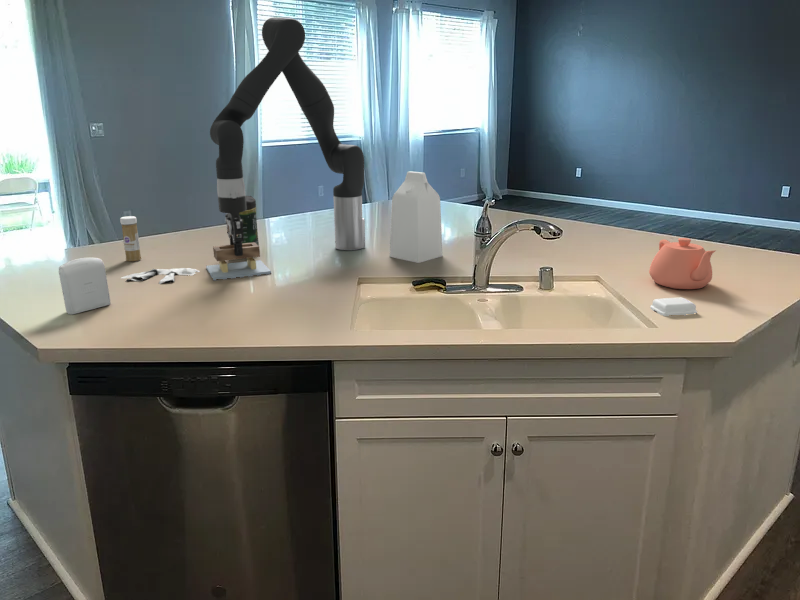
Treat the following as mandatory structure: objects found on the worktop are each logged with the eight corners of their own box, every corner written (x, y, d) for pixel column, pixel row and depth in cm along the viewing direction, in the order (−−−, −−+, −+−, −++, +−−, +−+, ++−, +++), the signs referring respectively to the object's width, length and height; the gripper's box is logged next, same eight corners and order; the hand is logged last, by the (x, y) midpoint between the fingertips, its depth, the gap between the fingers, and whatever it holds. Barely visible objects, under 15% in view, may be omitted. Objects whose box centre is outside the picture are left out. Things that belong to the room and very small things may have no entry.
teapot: (734, 295, 161) (741, 247, 157) (680, 299, 158) (686, 250, 154) (680, 272, 181) (686, 229, 177) (632, 275, 178) (636, 232, 175)
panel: (260, 262, 195) (259, 252, 194) (271, 273, 182) (270, 262, 181) (206, 268, 188) (205, 257, 187) (213, 280, 176) (212, 269, 175)
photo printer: (71, 316, 149) (62, 264, 145) (62, 312, 151) (53, 261, 148) (113, 305, 156) (106, 255, 152) (105, 301, 159) (97, 253, 155)
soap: (663, 318, 146) (664, 306, 145) (647, 308, 152) (648, 297, 151) (699, 315, 147) (701, 303, 146) (682, 306, 154) (684, 295, 153)
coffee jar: (254, 258, 199) (249, 198, 194) (229, 258, 200) (223, 198, 194) (262, 251, 209) (258, 194, 203) (238, 251, 209) (233, 193, 203)
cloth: (209, 271, 188) (208, 263, 187) (169, 293, 168) (167, 284, 167) (147, 268, 192) (146, 260, 191) (100, 289, 172) (98, 280, 171)
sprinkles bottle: (123, 262, 196) (117, 218, 192) (129, 258, 201) (123, 215, 196) (138, 261, 196) (132, 218, 192) (144, 258, 201) (138, 215, 197)
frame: (255, 252, 189) (254, 242, 188) (260, 256, 184) (259, 246, 183) (213, 256, 184) (212, 246, 183) (217, 261, 179) (216, 250, 178)
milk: (442, 256, 201) (443, 172, 193) (418, 263, 193) (418, 175, 185) (414, 250, 209) (414, 169, 201) (389, 256, 201) (388, 172, 193)
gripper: (213, 191, 183) (219, 249, 189) (222, 199, 171) (227, 260, 176) (240, 190, 186) (245, 246, 191) (250, 197, 174) (255, 257, 179)
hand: (236, 252), depth 184 cm, fingers closed on frame, 6 cm apart
